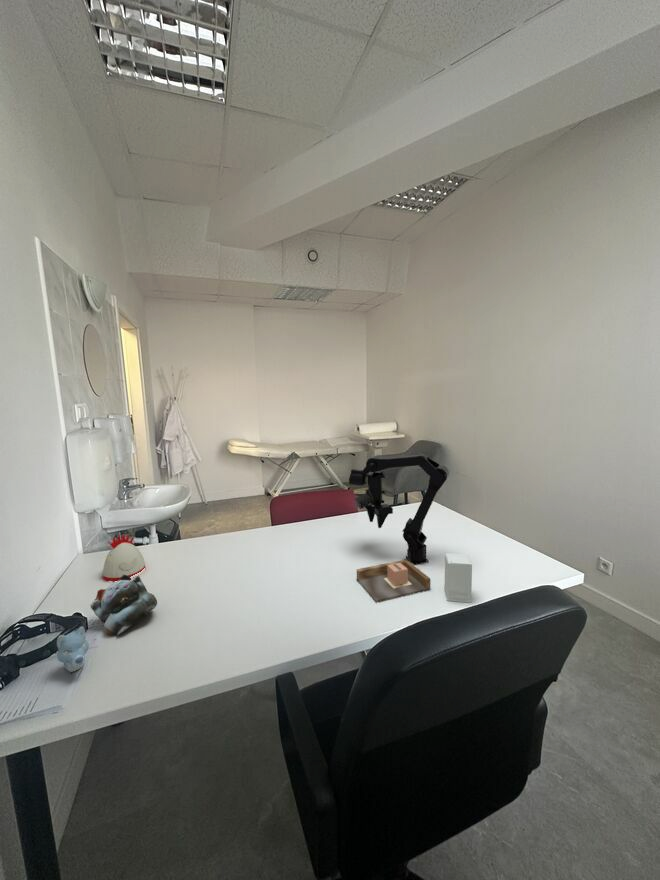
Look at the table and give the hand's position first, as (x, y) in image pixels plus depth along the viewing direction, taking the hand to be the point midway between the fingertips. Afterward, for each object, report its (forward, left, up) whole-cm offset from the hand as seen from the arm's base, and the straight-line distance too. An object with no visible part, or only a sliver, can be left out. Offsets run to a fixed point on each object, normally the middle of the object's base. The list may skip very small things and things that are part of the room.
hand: (375, 524), depth 146 cm
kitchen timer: (+95, -21, -12) cm, 98 cm away
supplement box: (-10, +38, -12) cm, 41 cm away
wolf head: (+96, +31, -12) cm, 102 cm away
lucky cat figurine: (+88, +14, -12) cm, 90 cm away
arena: (+6, +24, -12) cm, 28 cm away
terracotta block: (+4, +24, -11) cm, 27 cm away
